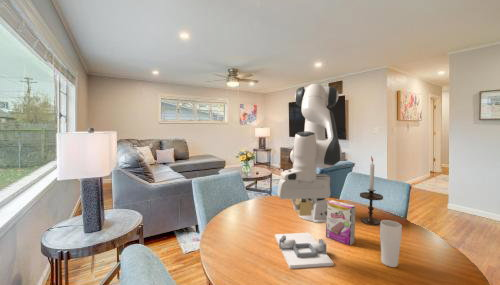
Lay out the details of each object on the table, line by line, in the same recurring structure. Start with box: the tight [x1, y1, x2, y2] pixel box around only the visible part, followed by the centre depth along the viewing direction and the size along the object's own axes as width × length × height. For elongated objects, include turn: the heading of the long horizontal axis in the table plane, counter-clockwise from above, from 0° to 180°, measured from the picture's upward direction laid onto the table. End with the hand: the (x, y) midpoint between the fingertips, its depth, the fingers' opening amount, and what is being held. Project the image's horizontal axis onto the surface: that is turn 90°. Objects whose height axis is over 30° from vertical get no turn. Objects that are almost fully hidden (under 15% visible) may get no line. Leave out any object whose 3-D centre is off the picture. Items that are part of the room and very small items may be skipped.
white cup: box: [379, 219, 403, 268], centre depth 84 cm, size 7×7×15 cm
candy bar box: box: [325, 199, 357, 247], centre depth 101 cm, size 11×5×16 cm, turn 44°
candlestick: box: [359, 155, 384, 227], centre depth 121 cm, size 11×11×35 cm
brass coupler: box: [295, 199, 312, 216], centre depth 89 cm, size 4×4×6 cm
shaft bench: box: [274, 232, 334, 269], centre depth 93 cm, size 17×24×5 cm
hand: (303, 209), depth 89 cm, fingers closed on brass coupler, 4 cm apart
